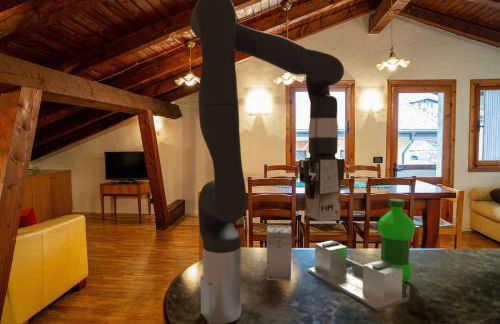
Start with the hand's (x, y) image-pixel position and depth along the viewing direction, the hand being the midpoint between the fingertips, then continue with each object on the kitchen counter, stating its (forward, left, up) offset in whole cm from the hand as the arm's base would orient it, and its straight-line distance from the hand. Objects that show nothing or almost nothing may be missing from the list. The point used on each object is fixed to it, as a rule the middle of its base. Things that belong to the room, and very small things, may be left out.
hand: (321, 197), depth 88 cm
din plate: (+14, +1, -28) cm, 31 cm away
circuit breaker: (0, +20, -28) cm, 34 cm away
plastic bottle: (+27, -3, -28) cm, 39 cm away
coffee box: (0, 0, -6) cm, 6 cm away
